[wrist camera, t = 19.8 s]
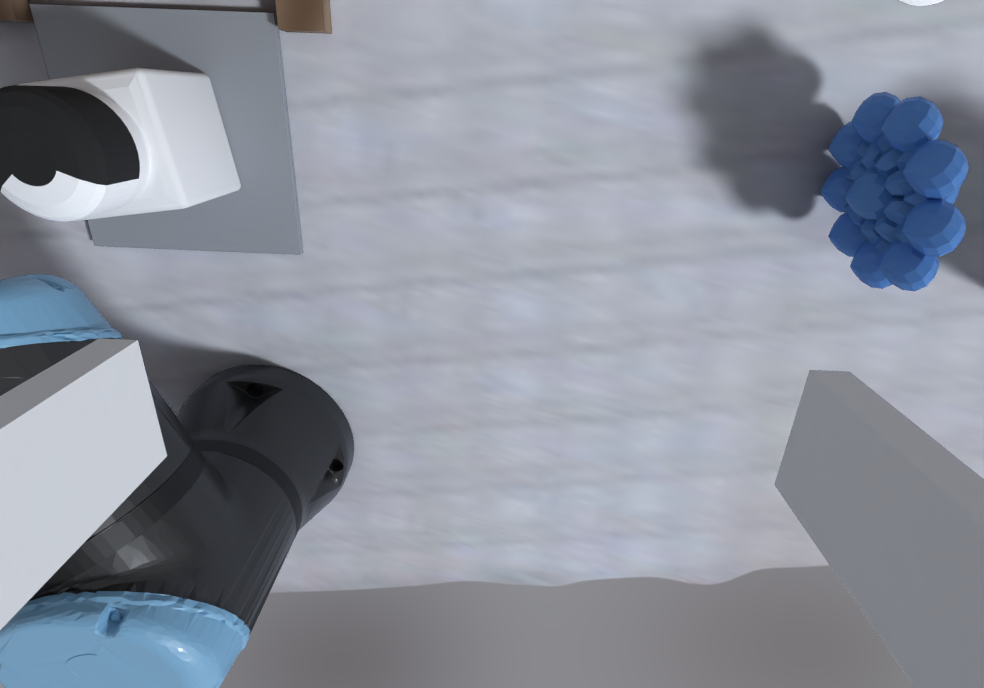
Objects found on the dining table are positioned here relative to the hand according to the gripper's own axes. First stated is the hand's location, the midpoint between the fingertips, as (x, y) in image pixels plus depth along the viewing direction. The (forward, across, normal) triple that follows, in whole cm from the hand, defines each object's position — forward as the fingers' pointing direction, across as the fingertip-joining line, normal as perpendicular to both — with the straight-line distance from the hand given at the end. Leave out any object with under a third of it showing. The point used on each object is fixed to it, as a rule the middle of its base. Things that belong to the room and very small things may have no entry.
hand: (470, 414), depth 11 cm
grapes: (+32, -25, -1) cm, 41 cm away
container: (+31, +23, -2) cm, 39 cm away
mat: (+32, +23, -2) cm, 39 cm away
